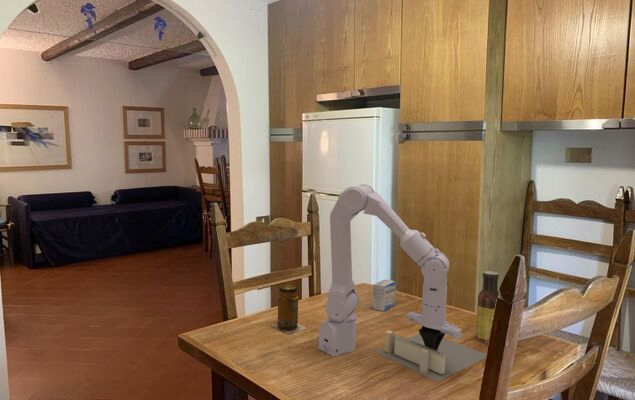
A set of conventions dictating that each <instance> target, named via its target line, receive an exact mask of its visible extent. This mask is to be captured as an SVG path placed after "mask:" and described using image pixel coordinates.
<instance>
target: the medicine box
mask: <svg viewBox="0 0 635 400" xmlns="http://www.w3.org/2000/svg"><path fill="white" fill-rule="evenodd" d="M396 285H397V284H396V281H394V280H391V279H383V280H381V281H378V282H376V283H374V284H373V287H372V309H373V310H376V311H380V312H386V311H388V310H390V309H391V308H393V307H395V305H396V289H397V288H396Z"/></svg>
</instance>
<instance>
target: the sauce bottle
mask: <svg viewBox="0 0 635 400" xmlns="http://www.w3.org/2000/svg"><path fill="white" fill-rule="evenodd" d="M482 278H483V279H482V280H483V281H482V289H481V291H479V293H478V295H477V305H476V306H477V308H476V327H475V336H476V337H475V338H476V340H477V341H478V342H480V343H482V344H484V345H485V344H486V345H489V344H488V341H489V336H490V330H491V325H492V318H493V315H494V309H495V304H496V299H497V297H498V295H500V293H499V288H498V280H499V272H496V271H493V270H492V271H491V270H490V271H489V270H487V271H483V273H482Z"/></svg>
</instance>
